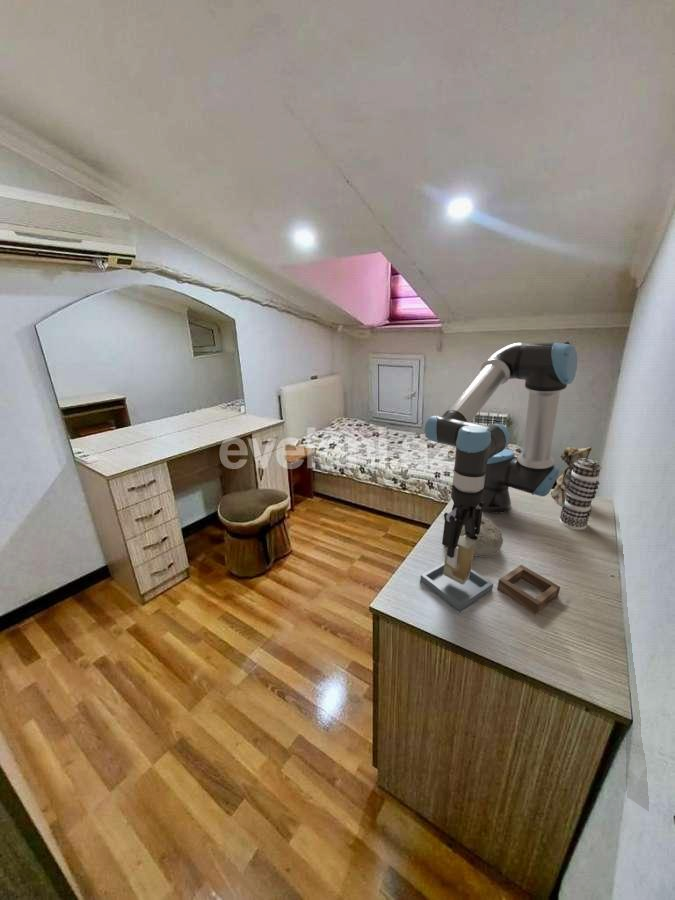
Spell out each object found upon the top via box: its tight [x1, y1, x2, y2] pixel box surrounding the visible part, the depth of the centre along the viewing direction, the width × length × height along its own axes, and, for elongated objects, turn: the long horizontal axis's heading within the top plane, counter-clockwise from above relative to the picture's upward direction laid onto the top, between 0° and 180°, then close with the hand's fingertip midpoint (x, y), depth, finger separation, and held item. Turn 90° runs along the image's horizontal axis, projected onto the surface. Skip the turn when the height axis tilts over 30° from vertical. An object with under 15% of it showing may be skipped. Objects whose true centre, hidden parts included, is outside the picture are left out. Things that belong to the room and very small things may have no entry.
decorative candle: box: [559, 457, 603, 531], centre depth 124 cm, size 9×9×25 cm
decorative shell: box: [460, 516, 504, 558], centre depth 115 cm, size 18×18×10 cm
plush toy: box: [550, 445, 592, 507], centre depth 140 cm, size 14×14×25 cm
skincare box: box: [443, 536, 476, 585], centre depth 97 cm, size 6×4×12 cm
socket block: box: [496, 564, 561, 616], centre depth 96 cm, size 11×11×4 cm
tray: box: [419, 561, 494, 613], centre depth 100 cm, size 14×14×2 cm
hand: (458, 561), depth 97 cm, fingers closed on skincare box, 5 cm apart
